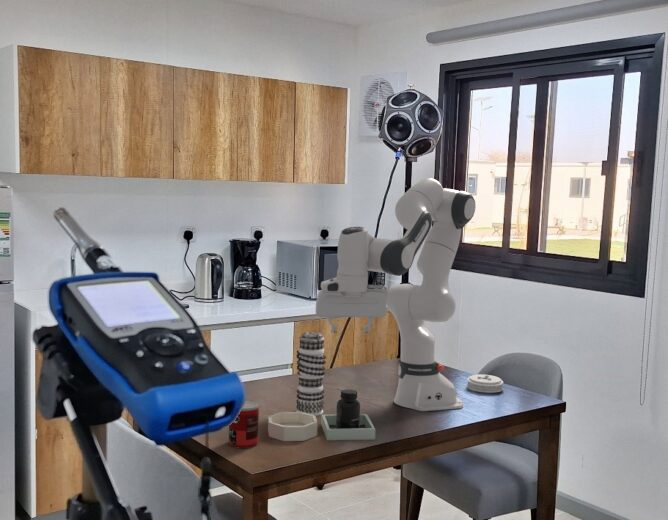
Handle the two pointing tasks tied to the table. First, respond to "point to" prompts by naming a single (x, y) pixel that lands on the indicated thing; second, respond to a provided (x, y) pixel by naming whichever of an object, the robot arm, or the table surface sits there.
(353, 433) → the tray
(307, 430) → the bowl
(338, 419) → the supplement bottle
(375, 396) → the table surface
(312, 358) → the decorative candle
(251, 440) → the canned food
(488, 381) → the lid
